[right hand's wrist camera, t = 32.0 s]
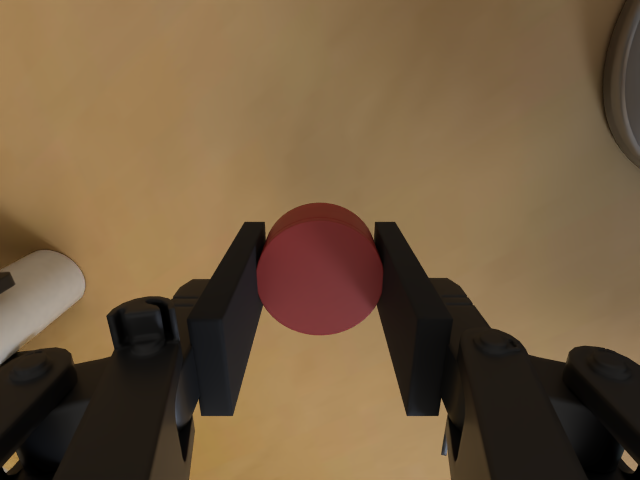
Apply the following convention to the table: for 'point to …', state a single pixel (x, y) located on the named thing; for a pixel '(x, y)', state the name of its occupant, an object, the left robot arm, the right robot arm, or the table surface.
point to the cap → (319, 270)
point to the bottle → (36, 297)
